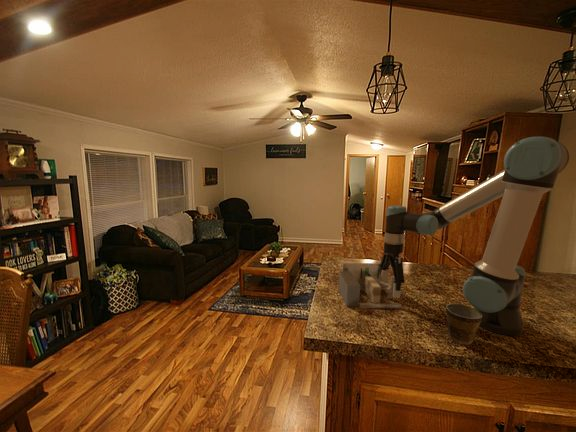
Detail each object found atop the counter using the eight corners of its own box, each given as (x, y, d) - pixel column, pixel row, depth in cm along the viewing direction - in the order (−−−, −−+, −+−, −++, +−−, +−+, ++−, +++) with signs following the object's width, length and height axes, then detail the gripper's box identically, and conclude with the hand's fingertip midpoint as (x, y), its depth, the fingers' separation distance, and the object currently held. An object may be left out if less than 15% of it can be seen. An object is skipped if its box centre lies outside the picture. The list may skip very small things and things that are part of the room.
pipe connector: (397, 306, 112) (401, 284, 110) (373, 297, 118) (378, 275, 116) (404, 298, 120) (409, 277, 117) (382, 290, 126) (386, 270, 124)
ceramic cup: (484, 342, 88) (488, 313, 87) (467, 352, 84) (471, 321, 82) (444, 323, 100) (448, 297, 98) (428, 330, 95) (431, 303, 93)
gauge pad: (379, 303, 113) (381, 287, 112) (372, 302, 113) (373, 287, 112) (368, 287, 128) (369, 273, 127) (361, 287, 128) (362, 273, 127)
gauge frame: (401, 308, 110) (404, 280, 108) (347, 307, 109) (348, 279, 108) (383, 287, 130) (385, 263, 128) (337, 287, 129) (338, 262, 127)
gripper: (417, 250, 103) (411, 303, 106) (390, 235, 127) (387, 279, 131) (397, 250, 103) (392, 303, 106) (375, 235, 127) (371, 279, 130)
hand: (389, 290), depth 118 cm, fingers open, 13 cm apart
